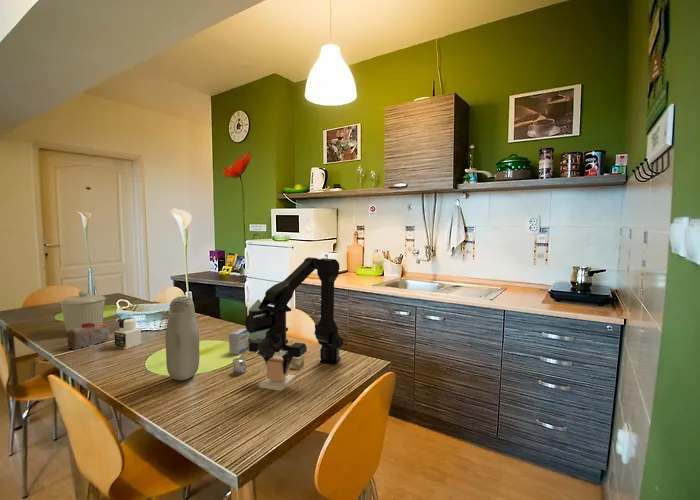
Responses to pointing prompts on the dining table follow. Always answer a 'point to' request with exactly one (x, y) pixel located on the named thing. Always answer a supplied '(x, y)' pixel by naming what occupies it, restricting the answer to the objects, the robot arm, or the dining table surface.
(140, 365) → the dining table surface
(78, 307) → the canister
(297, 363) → the birch block
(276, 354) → the sage block
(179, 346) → the grey squeeze bottle
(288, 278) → the robot arm
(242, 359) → the grey metal cylinder
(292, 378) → the grey mat
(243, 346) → the medicine box
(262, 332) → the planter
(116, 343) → the medicine bottle
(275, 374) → the coral block
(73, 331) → the food item
